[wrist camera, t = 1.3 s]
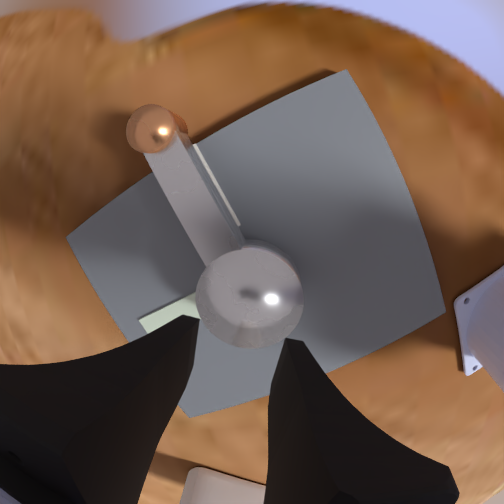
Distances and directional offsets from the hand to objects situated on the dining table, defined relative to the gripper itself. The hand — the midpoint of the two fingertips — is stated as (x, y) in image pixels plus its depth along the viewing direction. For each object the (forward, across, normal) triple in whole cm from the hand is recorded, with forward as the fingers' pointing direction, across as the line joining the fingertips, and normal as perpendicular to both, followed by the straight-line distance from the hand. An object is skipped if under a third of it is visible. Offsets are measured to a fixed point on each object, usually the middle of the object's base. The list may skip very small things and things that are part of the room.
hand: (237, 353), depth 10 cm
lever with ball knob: (+6, +2, -3) cm, 7 cm away
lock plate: (+8, 0, 0) cm, 8 cm away
